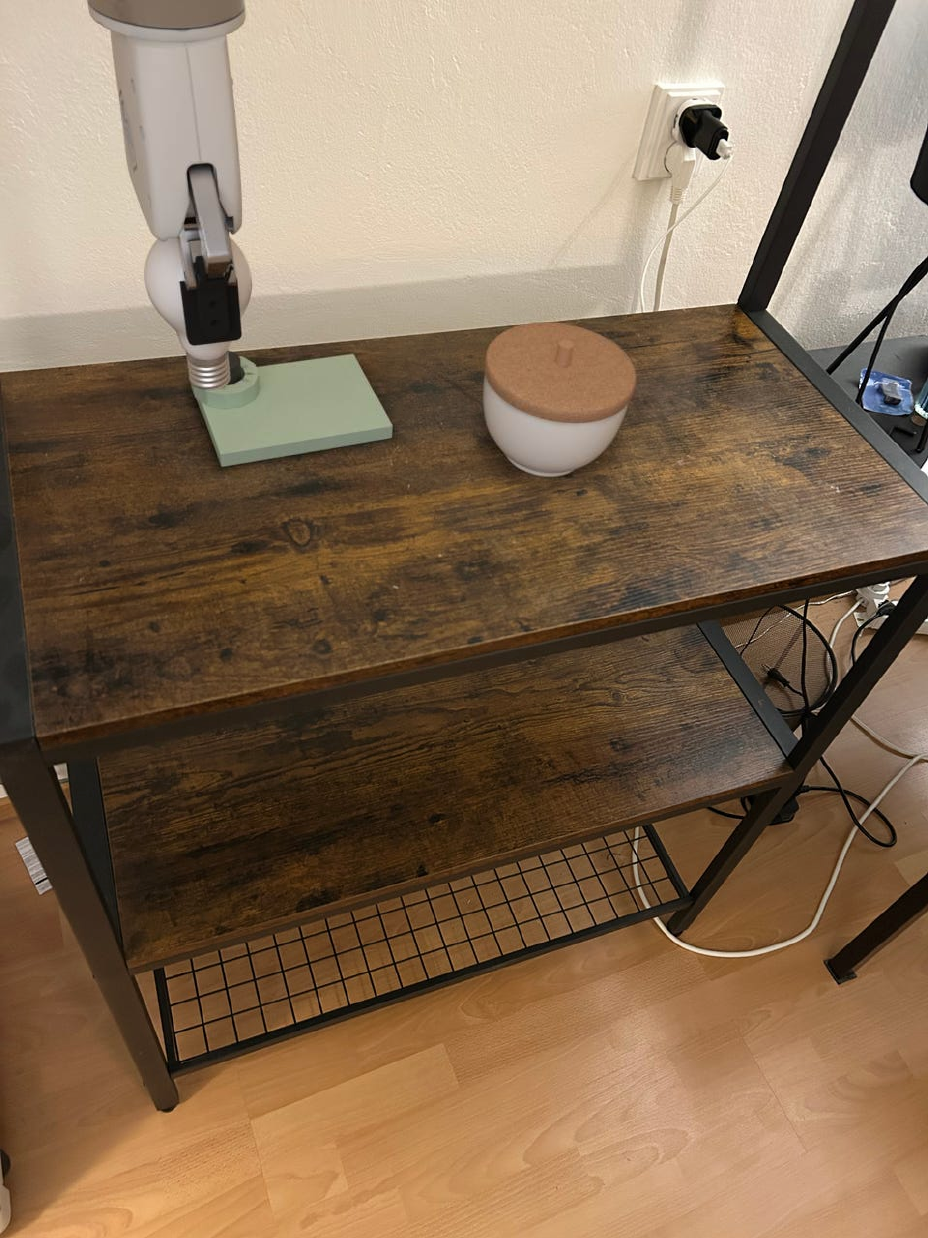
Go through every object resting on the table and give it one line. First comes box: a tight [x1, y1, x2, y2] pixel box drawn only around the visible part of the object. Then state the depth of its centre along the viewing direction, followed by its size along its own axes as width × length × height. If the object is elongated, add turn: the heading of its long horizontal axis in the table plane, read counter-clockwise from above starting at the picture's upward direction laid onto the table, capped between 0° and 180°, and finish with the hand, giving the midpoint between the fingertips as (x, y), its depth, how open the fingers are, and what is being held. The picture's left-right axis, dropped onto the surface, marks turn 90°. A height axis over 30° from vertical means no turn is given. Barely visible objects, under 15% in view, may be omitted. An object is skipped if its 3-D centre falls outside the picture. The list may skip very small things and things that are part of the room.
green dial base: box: [190, 353, 394, 468], centre depth 85 cm, size 15×11×3 cm
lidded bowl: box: [482, 321, 638, 478], centre depth 82 cm, size 13×13×11 cm
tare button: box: [227, 350, 242, 385], centre depth 84 cm, size 3×3×2 cm
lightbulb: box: [143, 224, 253, 390], centre depth 61 cm, size 6×6×11 cm
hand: (201, 305), depth 60 cm, fingers closed on lightbulb, 6 cm apart
